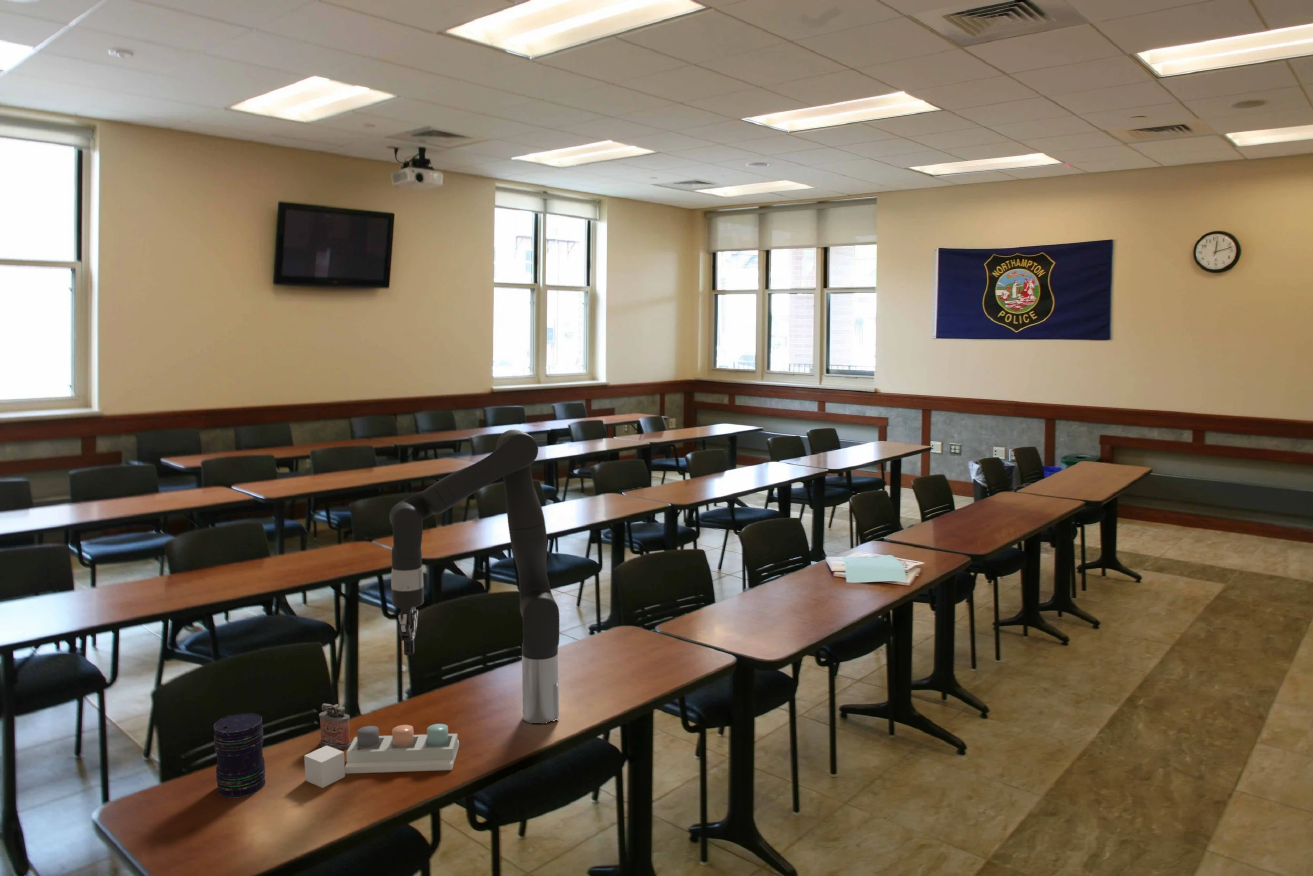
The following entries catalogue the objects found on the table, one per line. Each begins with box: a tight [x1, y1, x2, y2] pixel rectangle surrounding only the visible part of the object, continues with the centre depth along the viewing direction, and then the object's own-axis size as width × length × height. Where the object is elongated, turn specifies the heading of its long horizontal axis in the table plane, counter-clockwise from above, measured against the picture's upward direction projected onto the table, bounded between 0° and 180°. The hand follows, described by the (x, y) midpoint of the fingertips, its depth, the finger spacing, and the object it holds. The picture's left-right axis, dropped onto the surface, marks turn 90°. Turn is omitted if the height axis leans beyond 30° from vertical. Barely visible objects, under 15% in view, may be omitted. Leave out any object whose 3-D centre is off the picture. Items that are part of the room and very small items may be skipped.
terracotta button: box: [391, 724, 415, 746], centre depth 216 cm, size 5×5×3 cm
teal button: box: [426, 723, 449, 745], centre depth 217 cm, size 5×5×3 cm
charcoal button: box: [356, 725, 380, 747], centre depth 216 cm, size 5×5×3 cm
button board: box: [344, 733, 460, 775], centre depth 217 cm, size 24×12×4 cm, turn 94°
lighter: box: [318, 703, 352, 750], centre depth 224 cm, size 8×3×10 cm, turn 71°
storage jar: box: [213, 712, 266, 799], centre depth 203 cm, size 10×10×15 cm
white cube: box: [304, 745, 346, 789], centre depth 208 cm, size 6×6×6 cm
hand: (409, 654), depth 225 cm, fingers closed
